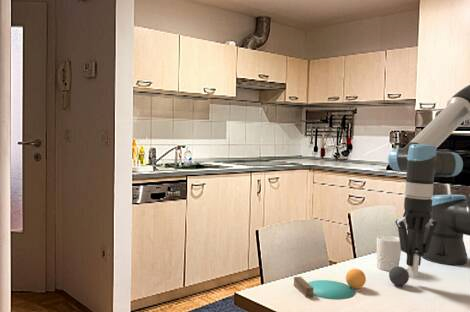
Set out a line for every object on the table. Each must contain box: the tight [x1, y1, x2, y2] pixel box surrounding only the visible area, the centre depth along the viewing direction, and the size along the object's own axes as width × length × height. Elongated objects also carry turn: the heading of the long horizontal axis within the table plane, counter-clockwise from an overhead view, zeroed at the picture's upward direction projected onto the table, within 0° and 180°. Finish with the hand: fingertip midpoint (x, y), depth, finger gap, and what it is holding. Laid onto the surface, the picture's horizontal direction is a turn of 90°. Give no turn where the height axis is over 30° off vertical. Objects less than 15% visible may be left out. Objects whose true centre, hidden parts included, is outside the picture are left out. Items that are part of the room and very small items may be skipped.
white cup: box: [376, 235, 402, 272], centre depth 149 cm, size 8×8×10 cm
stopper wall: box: [293, 276, 314, 298], centre depth 126 cm, size 2×9×2 cm, turn 14°
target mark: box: [307, 279, 356, 300], centre depth 128 cm, size 14×14×1 cm
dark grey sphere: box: [388, 265, 410, 287], centre depth 133 cm, size 6×6×6 cm
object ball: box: [345, 268, 367, 289], centre depth 130 cm, size 6×6×6 cm
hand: (412, 276), depth 134 cm, fingers closed
